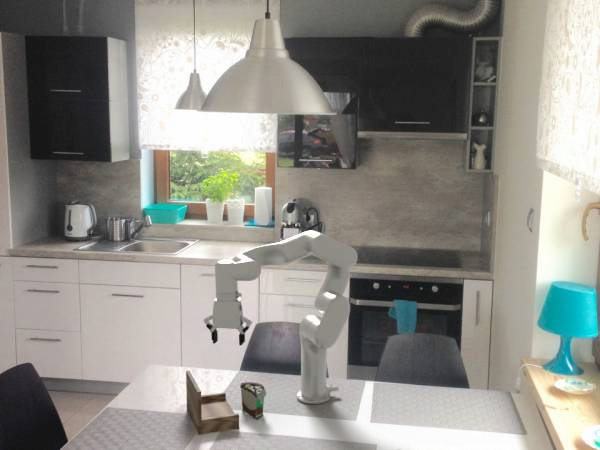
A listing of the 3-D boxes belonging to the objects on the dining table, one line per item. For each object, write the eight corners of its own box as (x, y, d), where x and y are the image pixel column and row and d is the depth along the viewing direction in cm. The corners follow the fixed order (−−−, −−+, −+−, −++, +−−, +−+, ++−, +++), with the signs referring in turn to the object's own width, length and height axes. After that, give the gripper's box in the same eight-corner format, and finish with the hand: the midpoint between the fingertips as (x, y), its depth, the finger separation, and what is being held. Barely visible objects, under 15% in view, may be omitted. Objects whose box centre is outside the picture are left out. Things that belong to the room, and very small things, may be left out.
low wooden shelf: (225, 405, 260) (224, 366, 258) (239, 428, 242) (238, 386, 239) (186, 410, 256) (186, 370, 253) (198, 434, 237) (197, 392, 235)
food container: (272, 417, 251) (272, 390, 249) (257, 421, 247) (257, 394, 246) (255, 405, 261) (254, 379, 259) (240, 408, 257) (240, 382, 256)
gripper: (254, 294, 248) (255, 341, 251) (207, 291, 251) (208, 338, 255) (247, 300, 240) (248, 348, 243) (199, 297, 244) (201, 345, 247)
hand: (228, 343), depth 249 cm, fingers open, 9 cm apart
